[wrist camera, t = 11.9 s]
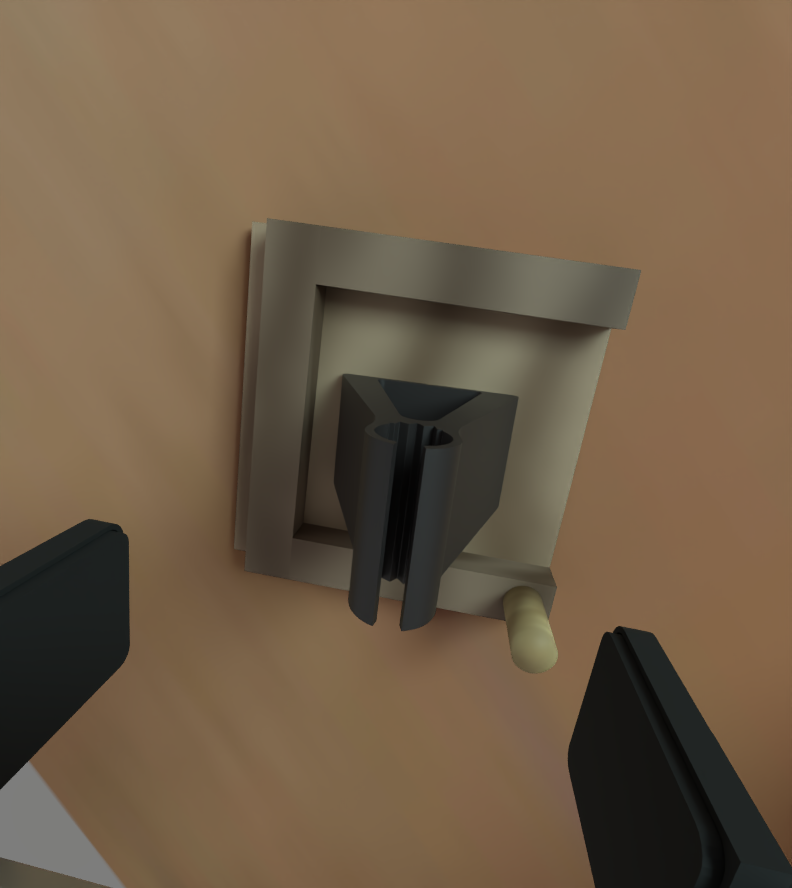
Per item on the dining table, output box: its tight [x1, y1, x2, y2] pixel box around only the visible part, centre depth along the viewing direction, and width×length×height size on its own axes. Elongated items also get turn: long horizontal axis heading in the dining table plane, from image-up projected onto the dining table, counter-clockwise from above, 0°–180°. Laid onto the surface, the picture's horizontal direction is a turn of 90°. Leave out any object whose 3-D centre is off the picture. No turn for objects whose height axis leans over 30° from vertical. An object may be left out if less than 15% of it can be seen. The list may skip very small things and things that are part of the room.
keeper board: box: [234, 218, 641, 673], centre depth 23 cm, size 18×18×7 cm
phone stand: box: [334, 374, 519, 631], centre depth 20 cm, size 9×6×12 cm, turn 83°
